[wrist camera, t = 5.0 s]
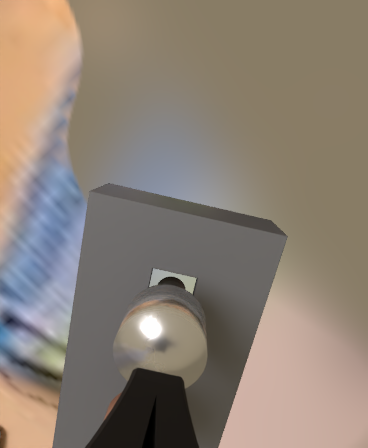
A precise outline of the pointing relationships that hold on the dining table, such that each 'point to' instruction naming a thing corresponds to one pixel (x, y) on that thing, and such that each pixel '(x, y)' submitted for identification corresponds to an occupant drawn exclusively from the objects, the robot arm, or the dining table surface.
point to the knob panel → (140, 279)
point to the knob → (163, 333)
